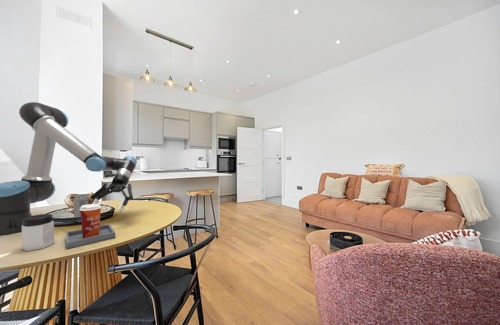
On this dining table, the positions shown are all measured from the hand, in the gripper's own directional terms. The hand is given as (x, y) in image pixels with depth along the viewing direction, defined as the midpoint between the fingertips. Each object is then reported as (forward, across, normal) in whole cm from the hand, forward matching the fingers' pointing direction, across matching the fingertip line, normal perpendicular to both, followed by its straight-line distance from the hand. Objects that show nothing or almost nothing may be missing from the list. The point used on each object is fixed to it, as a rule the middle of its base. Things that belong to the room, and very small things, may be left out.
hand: (105, 211), depth 97 cm
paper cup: (+14, 0, +2) cm, 14 cm away
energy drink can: (-2, +20, -16) cm, 25 cm away
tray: (+14, 0, +2) cm, 15 cm away
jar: (+19, +15, +6) cm, 25 cm away
